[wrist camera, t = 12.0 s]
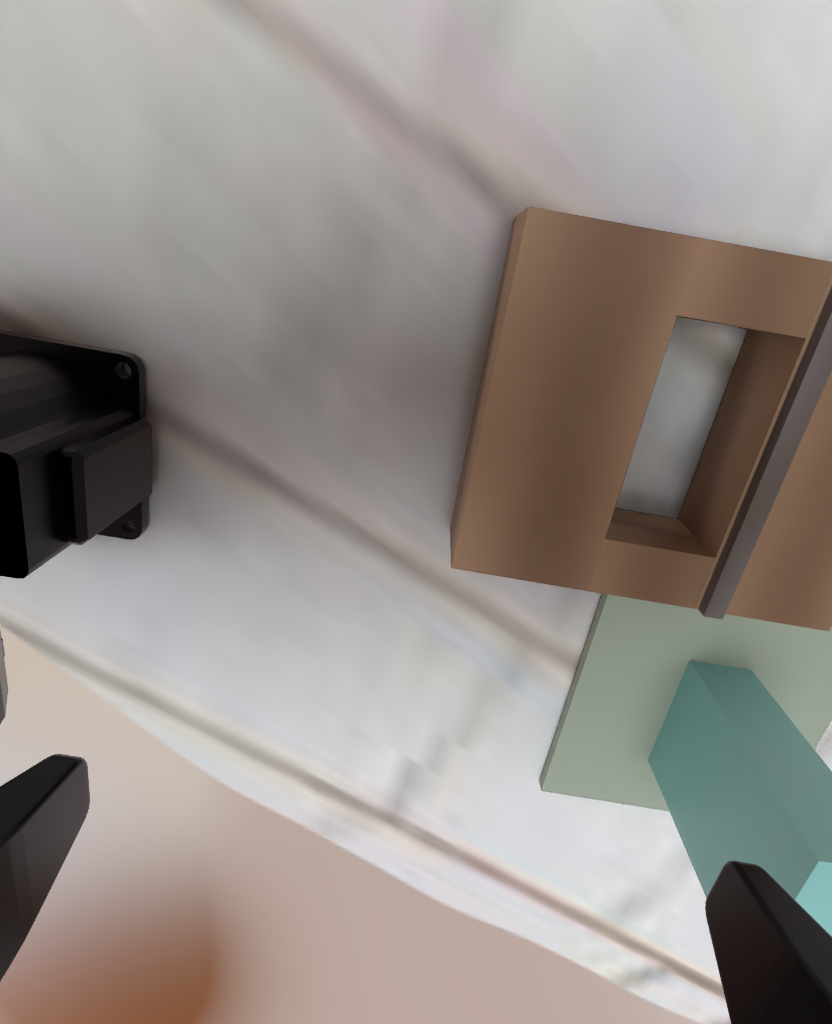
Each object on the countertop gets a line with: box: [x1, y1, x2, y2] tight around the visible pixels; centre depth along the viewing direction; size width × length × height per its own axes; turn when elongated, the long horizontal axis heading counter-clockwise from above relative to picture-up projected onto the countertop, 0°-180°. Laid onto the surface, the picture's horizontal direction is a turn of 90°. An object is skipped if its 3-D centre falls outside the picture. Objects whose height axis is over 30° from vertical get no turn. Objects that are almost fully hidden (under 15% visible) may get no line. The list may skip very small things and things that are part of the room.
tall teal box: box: [648, 660, 832, 936], centre depth 19 cm, size 2×5×8 cm, turn 171°
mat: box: [539, 593, 832, 811], centre depth 23 cm, size 10×10×1 cm
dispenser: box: [450, 207, 832, 631], centre depth 17 cm, size 12×10×3 cm
